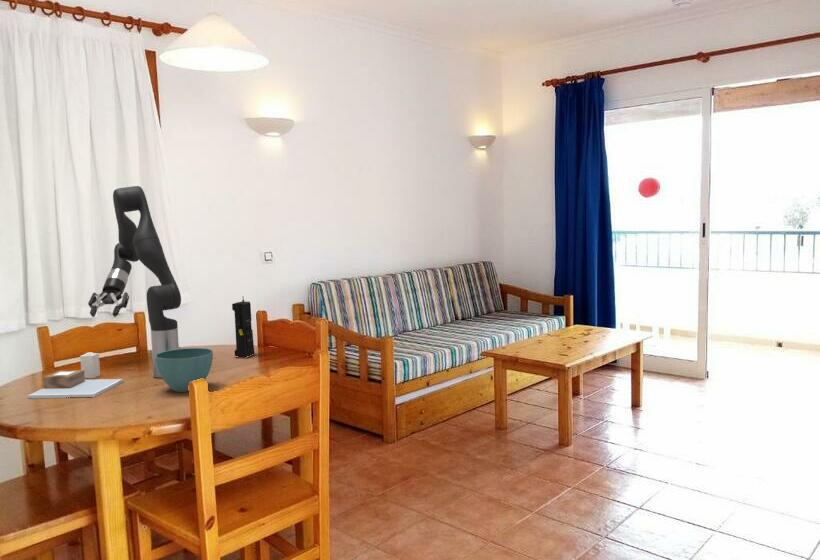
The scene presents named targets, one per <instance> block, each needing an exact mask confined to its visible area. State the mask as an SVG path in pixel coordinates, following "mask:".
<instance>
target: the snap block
mask: <svg viewBox="0 0 820 560" xmlns="http://www.w3.org/2000/svg"><path fill="white" fill-rule="evenodd" d="M99 354H100V353H99V352H93V351H91V352H89V351H88V352H85V353H84V354H82V355H80V357H79V360H80V370H84V377H85V378H94V379H96V378H98V377H101V368H100V355H99ZM97 376H98V377H97Z"/></svg>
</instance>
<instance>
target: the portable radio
mask: <svg viewBox="0 0 820 560" xmlns="http://www.w3.org/2000/svg"><path fill="white" fill-rule="evenodd" d="M231 307H232V308H231V310H232V311H233V312H234V326H235V347H236V348H235V350H234V357H235V356H238V357H247V356H250V355H252V354H254V353H255V345H254V334H253V333H254V331H253V329H252V308H251V301H245V299H244V297H242V301H237V302H234V303H232V304H231ZM254 355H255V354H254ZM250 357H251V356H250Z"/></svg>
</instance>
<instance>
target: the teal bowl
mask: <svg viewBox="0 0 820 560" xmlns="http://www.w3.org/2000/svg"><path fill="white" fill-rule="evenodd" d="M155 358H156V363H157V367H158V370H159V372H160V374H161V376H162V380H163V381H164V382H165V384H166V385H167V387H169V388H170V389H171V390H172V391H173V392H176V393H177V392H178V393H187V392H188V393H189V391H188V385H189V382H190V381H193V380H197V379H200V378H204V379H205V380H206V379H207V377H208V376H209V374H210V371H211V367H212V364H213V360H214V359H213V358H214V350H213V349H210V348H205V347H189V348H188V347H187V348H181V349H176V350H169V351H165V352H161V353H158V354H156V355H155Z"/></svg>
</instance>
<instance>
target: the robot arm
mask: <svg viewBox="0 0 820 560" xmlns="http://www.w3.org/2000/svg"><path fill="white" fill-rule="evenodd" d="M112 202H113V207H114V212H115V217H116V223H117V228H118V243H116V244H115V246H114V249H113V255H114V256H113V263H112V266H111V269H110V271H109V273H108V274H107V277H106V279H105V281H104V285H103V287H102V291H101V292H100V293H96V292H93V293H92V295H91V296H90V298H89V301H88V303H87V305H88V307H90V311H89V314H90V316H91V317H92V318H94V317H95V316H96V314H97V313H98V309H100V307H103V306H105V305H115V306H114V307H113V308H114V309H113V310H112V316H113V317H114V318H116V317H117V316H119V315H120V312H121V311H120V310H122V309H126V308H127V307H128V304H129V300H130V295H129V293H128V291H125V289H126V285H127V283H128V279H129V276H130V273H131V272H132V271H131V270H132V268H133V267H132V264H131V262H133V263H136V262H138V261H140V262H141V264H142V265H144V267H146V268H147V269H148V270H149V271H150V272H152V274H154V275H155V276H156V278H157V279H158V281H159V282H160V284H159V285H153V286H150V287H148V289H147V291H146V306H147V314H148V321H149V325H150V338H151V340H150V341H151V352H152V353H151V355H152V368H153V369H152V370H153V371H152V372H153V377H154V378H157V379H158V378H159V379H161V378H162V376H161V374H160V372H159V370H158V367H157V363H156V358H155V355H156V354H158V353H161V352H165V351H169V350H176V349H182V347H180V345H179V344H180V343H179V330H178V329H179V328H178V327H179V326H178V321H177V320H176V319H174V318H169V317H166V316H165V314H164V311H169V310H176V309H178V308H180V306H181V304H182V295H181V292H180V289H179V286H178V283H177V281H176V280H175V277H174V276H173V273H172V271H171V268H170V266H169V264H168V261H167V258H166V255H165V253H164V250H163V249H164V248H163V246H162V242H161V241H160V237H159V236H158V233H157V230H156V228H155V224H154V222H153V218H152V215H151V211H150V208H149V203H148V201H147V197H146V194H145V191H144V190H143V188H142V187H141V186H140V185H134V186H133V185H132V186H126V187H125V186H124V187H119V188H116V189H114V190H113V193H112ZM137 211H138V212H139V214H140V218H139V222H138V225H136V224H135V222H134V221H133V220H132V219H130V217H128V216H127V215H126V214H125V213H131V212H137ZM121 299H122V300H121ZM120 300H121V302H119V301H120ZM162 379H163V378H162Z"/></svg>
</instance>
